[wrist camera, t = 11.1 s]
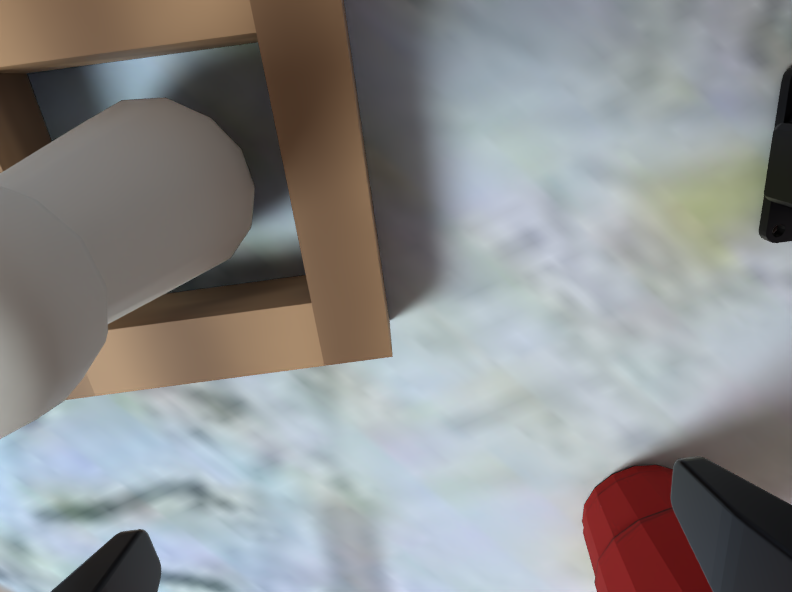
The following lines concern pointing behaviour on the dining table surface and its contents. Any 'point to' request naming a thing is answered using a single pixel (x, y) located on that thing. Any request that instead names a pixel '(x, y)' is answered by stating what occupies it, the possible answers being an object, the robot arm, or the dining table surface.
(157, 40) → the frame
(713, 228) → the dining table surface
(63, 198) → the salt shaker
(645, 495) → the plastic cup
